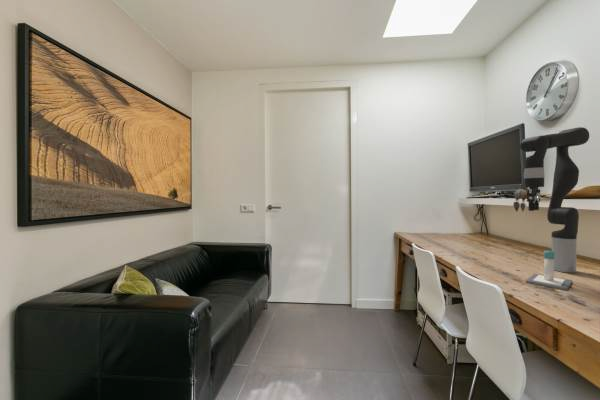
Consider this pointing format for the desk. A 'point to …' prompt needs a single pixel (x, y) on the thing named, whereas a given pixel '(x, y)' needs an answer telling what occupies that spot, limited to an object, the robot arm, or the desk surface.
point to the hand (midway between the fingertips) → (533, 210)
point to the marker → (549, 265)
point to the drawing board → (549, 282)
